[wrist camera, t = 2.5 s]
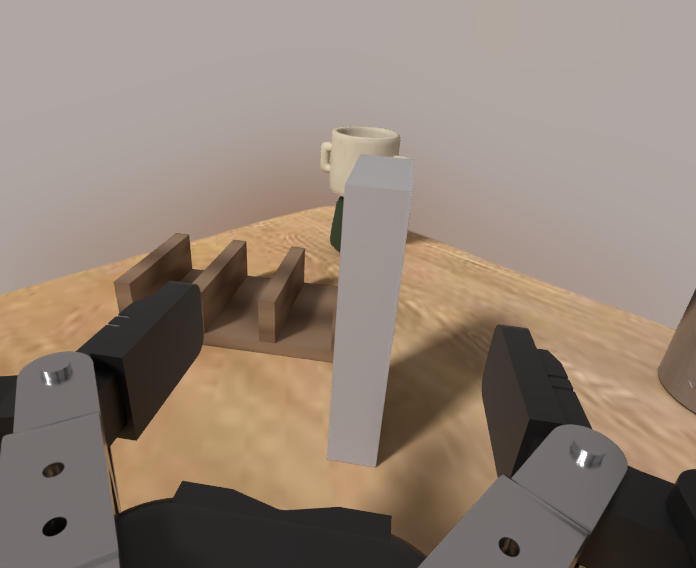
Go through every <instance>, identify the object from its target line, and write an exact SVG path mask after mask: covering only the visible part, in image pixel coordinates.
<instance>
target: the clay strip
mask: <svg viewBox="0 0 696 568" xmlns="http://www.w3.org/2000/svg"><path fill="white" fill-rule="evenodd" d="M413 171H414V159H406V158H395V157H385V156H375V155H364V154H360V156H359V158H358V160H357V162H356V164H355V166H354V168H353V170H352V171H351V173H350V175H349V177H348V179H347V181H346V183H345V189H344V204H343V220H342V235H341V250H340V266H339V281H338V297H337V312H336V328H335V343H334V358H333V374H332V389H331V405H330V420H329V436H328V451H327V460H332V461H338V462H345V463H351V464H358V465H364V466H371V467H376V461H377V454H378V446H379V439H380V432H381V424H382V417H383V409H384V402H385V394H386V387H387V379H388V372H389V365H390V357H391V350H392V342H393V335H394V327H395V320H396V312H397V305H398V298H399V290H400V283H401V275H402V268H403V260H404V253H405V245H406V238H407V231H408V223H409V216H410V208H411V201H412V193H413Z"/></svg>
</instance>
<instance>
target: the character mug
mask: <svg viewBox="0 0 696 568" xmlns="http://www.w3.org/2000/svg"><path fill="white" fill-rule="evenodd" d="M399 147H400V135H399V134H398V133H396V132H394V131H390V130H386V129H381V128H372V127H338V128H335V129H333V133H332V143H331V142H324V143H323V144H322V147H321V162H320V165H321V170H323V171H324V172H327V173H330V188H331V191H332V192H334V193H335V194H337V195H340V196H341V197H340V198H339V200H338V201H337V204H336V209H335V214H334V218H333V223H332V229H331V235H330V241H331V245H332V246H334V247H335V248H336V249H337V250H339V251H340V250H341V235H342V220H343V204H344V189H345V183H346V181H347V179H348V177H349V175H350V173H351V171H352V170H353V168H354V166H355V164H356V162H357V160H358V158H359V156H360V154H364V155H375V156H385V157H395V158H406V159H408V158H407V157H401V156H399ZM330 152H331V164H329V154H330Z"/></svg>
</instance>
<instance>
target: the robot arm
mask: <svg viewBox="0 0 696 568" xmlns="http://www.w3.org/2000/svg"><path fill="white" fill-rule="evenodd" d="M203 339H204V329H203V315H202V302H201V291H200V288H199V286H198V285H196V284H190V283H182V282H175V281H169V282H167V283H166V284H165V285H164V286H163V287H162V288H160V289H159V290H158V291H157V292H156V293H155V294H154V295H153V296H146V297H144V298H142V299H140V300H138V301H136V302H133V303H131V304H130V305H128V306H127V307H126V308H125V309H124V310H123V311H122V312H120V313H119V314H118V317H117V316H116V317H115V318H114V319H112V320H111V321H110V322H109V324H108V325H106V326H104V327H103V328H102V329H101V330H100V331H99V332H98V333H96V334H95V335H94V336H93V337H92V338H91V339H90V340H88V341H87V342H86V343H85V344H84V345H83V346H82V347H80V348H79V349H78V350H77V351H76V352H59V353H54V354H49V355H46V356H43V357H41V358H38V359H36V360H34V361H33V362H31V363H29V364H28V365H26V366H25V367H24V368H23V369H22V370H21V371H20V373H19V375H15V376H0V568H580V566H583V567H586V568H696V469H691V470H686V471H684V472H682V473H681V474H680V475H679V477H678V479H677V481H676V483H675V484H673V483H671V482H668V481H665V480H663V479H660V478H657V477H655V476H652V475H649V474H647V473H644V472H641V471H639V470H637V469H634V468H632V467H630V466H628V464H627V460H626V457H625V455H624V454H623V452H622V451H621V449H620V448H619V447H618V446H617V445H616V444H615V443H614V442H613V441H611V440H610V439H609V438H607V437H606V436H604V435H603V434H601V433H599V432H597V431H595V430H593V429H592V427H591V425H590V423H589V421H588V419H587V417H586V415H585V412H584V410H583V408H582V406H581V404H580V402H579V400H578V398H577V395H576V393H575V392H573V387H572V385H571V383H570V381H569V380H568V376H567V374H566V372H565V370H564V368H563V366H562V364H561V362H559V361H558V360H557V359H556V358H555V357H554V356H553V355H552V354H551V353H550V352H549V351H548V350H543V349H537V348H536V346H535V343H534V341H533V339H532V336H531V334H530V331H529V329H527V328H521V327H513V326H506V325H497V326H496V328H495V331H494V334H493V338H492V342H491V346H490V350H489V354H488V358H487V362H486V365H485V369H484V373H483V379H482V398H483V403H484V408H485V414H486V419H487V424H488V429H489V434H490V440H491V445H492V450H493V455H494V460H495V465H496V471H497V476H498V479H497V480H496V481H495V482H494V483H493V484H492V485H491V486H490V488H489V489H488V490H487V491H486V492H485V493H484V494H483V495H482V497H481V498H480V499H479V500H478V501H477V502H476V503H475V504H474V505H473V507H472V508H471V509H470V510H469V511H468V512H467V513H466V514H465V515H464V517H463V518H462V519H461V520H460V521H459V522H458V523H457V524H456V525H455V527H454V528H453V529H452V530H451V531H450V532H449V533H448V534H447V535H446V537H445V538H444V539H443V540H442V541H441V542H440V543H439V544H438V546H437V547H436V548H435V549H434V550H433V551H432V552H431V553H430V554H429V556H428V557H427V556H426V555H425V554H424V553H422V552H421V551H420V550H418V549H417V548H416V547H414V546H413V545H411V544H410V543H408V542H406V541H405V540H403V539H401V538H399V537H397V536H395V535H392V534H391V519H392V516H390V515H384V514H378V513H372V512H366V511H360V510H354V509H348V508H342V507H331V508H315V509H300V510H279V509H276V508H274V507H272V506H270V505H267V504H265V503H263V502H260V501H258V500H256V499H254V498H251V497H249V496H247V495H244V494H242V493H240V492H238V491H235V490H233V489H228V488H222V487H216V486H210V485H204V484H198V483H192V482H186V481H182V482H181V484H180V486H179V488H178V490H177V492H176V493H175V495H174V497H173V498H166V499H160V500H155V501H151V502H147V503H143V504H140V505H137V506H135V507H132V508H129V509H127V510H125V511H123V512H121V507H120V500H119V494H118V488H117V482H116V475H115V469H114V463H113V457H112V451H111V447H110V446H111V444H112V443H113V442H114V441H115V439H116V438H123V439H129V440H136V441H137V439H138V438H139V437H140V435H141V434H142V432H143V431H144V430H145V428H146V427H147V426H148V424H149V423H150V421H151V420H152V419H153V417H154V416H155V414H156V413H157V412H158V410H159V409H160V408H161V406H162V405H163V403H164V402H165V401H166V399H167V398H168V396H169V395H170V394H171V392H172V391H173V390H174V388H175V387H176V385H177V384H178V383H179V381H180V380H181V379H182V377H183V376H184V374H185V373H186V372H187V370H188V369H189V367H190V366H191V365H192V363H193V362H194V361H195V359H196V358H197V356H198V355H199V353H200V351H201V348H202V344H203ZM658 376H659V378H660V380H661V383H662V384H663V385H664V387H665V388H666V390H667V391H668V392H669V393H670V394H671V395H672V396H673V397H674V398H675V399H676V400H677V401H679V402H680V403H681V404H683V405H684V406H685V407H687V408H688V409H689V410H691V411H693V412H694V413H696V289H695V291H694V294H693V296H692V298H691V300H690V302H689V304H688V306H687V309H686V311H685V313H684V315H683V317H682V319H681V321H680V323H679V325H678V328H677V329H676V331H675V334H674V336H673V338H672V340H671V342H670V344H669V347H668V349H667V351H666V353H665V355H664V357H663V359H662V362H661V364H660V366H659V368H658Z"/></svg>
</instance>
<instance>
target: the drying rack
mask: <svg viewBox="0 0 696 568" xmlns="http://www.w3.org/2000/svg"><path fill="white" fill-rule="evenodd" d="M304 261H305V248H300V247H291V248H290V250H289V252H288V253H287V255H286V256H285V258H284V260H283V261H282V263H281V264H280V266H279V268H278V269H277V271H276V272H275V274H274V276H273V277H272V279H270V278H261V277H253V276H247V248H246V241H240V240H233V241H232V242H231V243H230V244H229V245H228V246H227V247H226V248H225V249H224V250H223V251H222V252H221V253H220V254H219V256H218V257H217V258H216V259H215V260H214V261H213V262H212V263H211V264H210V265H209V266H208V267H207V268H206V269H205V270H196V269H192V261H191V251H190V241H189V235H188V234H180V233H176V234H175V235H173V236H172V237H171V238H169V239H168V240H167V241H166V242H165V243H163V244H162V245H161V246H159V247H158V248H157V249H155V250H154V251H153V252H152V253H150V254H149V255H148V256H146V257H145V258H144V259H143V260H141V261H140V262H139V263H137V264H136V265H135V266H134V267H132V268H131V269H130V270H129V271H127V272H126V273H125V274H123V275H122V276H121V277H120V278H118V279H117V280H116V281H114V286H115V292H116V297H117V303H118V308H119V313H120V312H122V311H123V310H124V309H125V308H126V307H127V306H128V305H130V304H131V303H133V302H136V301H138V300H140V299H142V298H144V297H146V296H153V295H154V294H155V293H156V292H157V291H158V290H159V289H160V288H162V287H163V286H164V285H165V284H166V283H167V282H169V281H175V282H182V283H190V284H196V285H198V286H199V288H200V291H201V302H202V315H203V329H204V339H203V344H202V345H209V346H217V347H224V348H231V349H239V350H246V351H253V352H261V353H268V354H275V355H282V356H290V357H297V358H304V359H312V360H319V361H326V362H333V358H334V343H335V328H336V312H337V297H338V287H335V286H327V285H318V284H310V283H304Z"/></svg>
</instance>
